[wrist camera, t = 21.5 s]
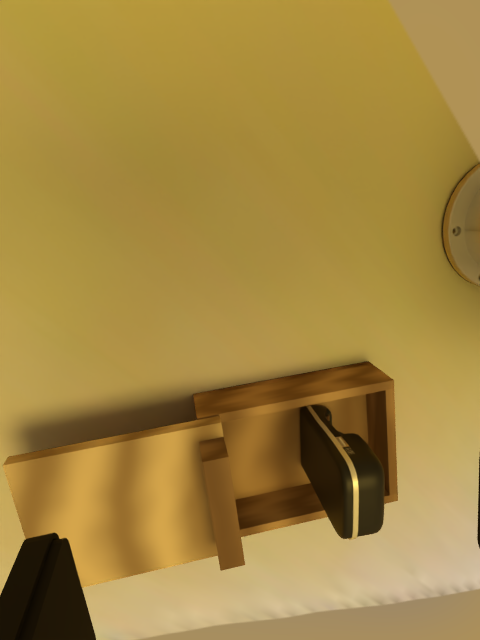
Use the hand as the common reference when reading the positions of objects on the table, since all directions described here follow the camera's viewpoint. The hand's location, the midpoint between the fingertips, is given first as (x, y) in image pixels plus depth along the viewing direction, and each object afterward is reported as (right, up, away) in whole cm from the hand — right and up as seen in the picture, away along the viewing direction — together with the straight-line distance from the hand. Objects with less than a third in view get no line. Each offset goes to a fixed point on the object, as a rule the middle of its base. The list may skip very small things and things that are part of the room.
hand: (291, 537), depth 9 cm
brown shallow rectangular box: (+4, -7, +34) cm, 35 cm away
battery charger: (+7, -7, +34) cm, 35 cm away
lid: (-10, -11, +27) cm, 31 cm away
